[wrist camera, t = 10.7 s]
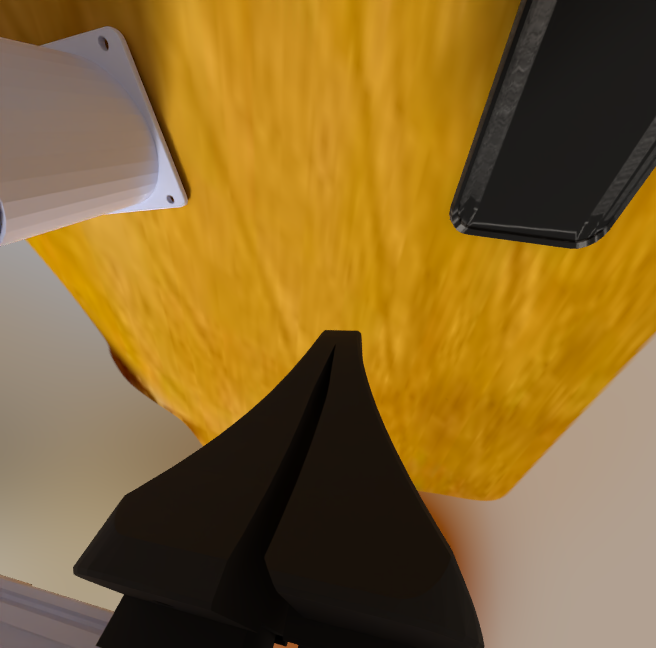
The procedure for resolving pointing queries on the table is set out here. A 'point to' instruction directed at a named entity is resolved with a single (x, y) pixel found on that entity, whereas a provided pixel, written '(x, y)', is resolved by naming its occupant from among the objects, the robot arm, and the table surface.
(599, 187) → the phone
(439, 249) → the table surface
